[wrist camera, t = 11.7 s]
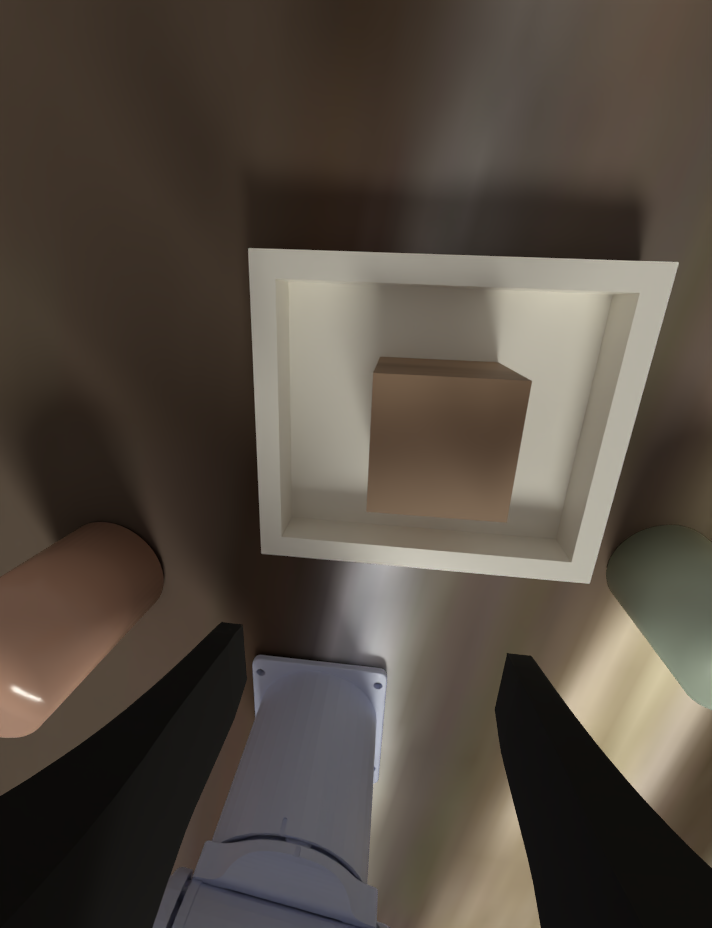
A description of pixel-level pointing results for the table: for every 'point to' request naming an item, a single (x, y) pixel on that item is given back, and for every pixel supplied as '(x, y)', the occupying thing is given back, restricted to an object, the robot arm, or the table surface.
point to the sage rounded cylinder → (670, 600)
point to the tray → (448, 338)
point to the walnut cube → (445, 438)
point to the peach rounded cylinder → (68, 617)
